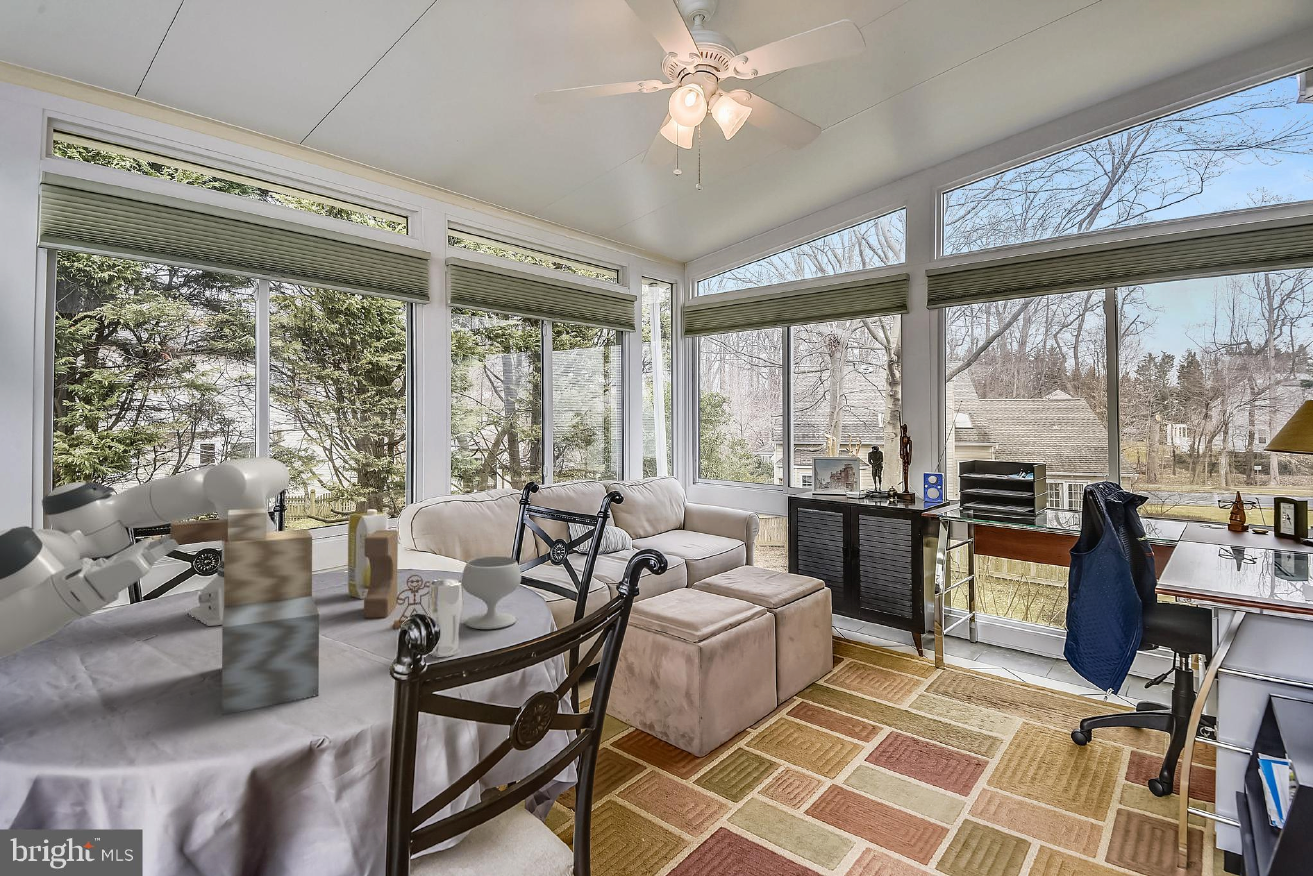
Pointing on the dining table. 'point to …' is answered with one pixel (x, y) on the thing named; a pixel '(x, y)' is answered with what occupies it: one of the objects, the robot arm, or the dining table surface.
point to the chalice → (491, 588)
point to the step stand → (269, 622)
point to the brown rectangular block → (223, 528)
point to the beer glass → (446, 613)
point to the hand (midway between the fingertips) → (179, 537)
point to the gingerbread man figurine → (399, 622)
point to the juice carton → (361, 549)
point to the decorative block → (381, 573)
